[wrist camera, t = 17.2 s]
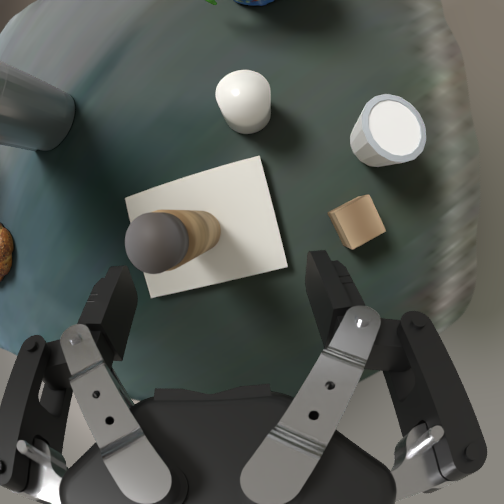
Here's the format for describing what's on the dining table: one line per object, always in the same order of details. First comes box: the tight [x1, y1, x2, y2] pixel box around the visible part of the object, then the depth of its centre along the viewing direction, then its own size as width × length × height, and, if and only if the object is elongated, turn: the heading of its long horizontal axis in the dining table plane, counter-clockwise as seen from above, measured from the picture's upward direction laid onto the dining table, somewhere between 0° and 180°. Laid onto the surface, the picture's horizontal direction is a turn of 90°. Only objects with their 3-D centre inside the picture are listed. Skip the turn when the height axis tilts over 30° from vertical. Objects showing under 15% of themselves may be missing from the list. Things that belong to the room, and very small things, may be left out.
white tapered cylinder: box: [350, 94, 426, 167], centre depth 26 cm, size 7×7×7 cm
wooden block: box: [328, 195, 386, 250], centre depth 29 cm, size 4×4×4 cm
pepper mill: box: [125, 209, 221, 274], centre depth 25 cm, size 4×4×13 cm
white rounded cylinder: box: [216, 70, 271, 134], centre depth 27 cm, size 5×5×6 cm
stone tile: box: [125, 156, 288, 298], centre depth 32 cm, size 16×12×1 cm
